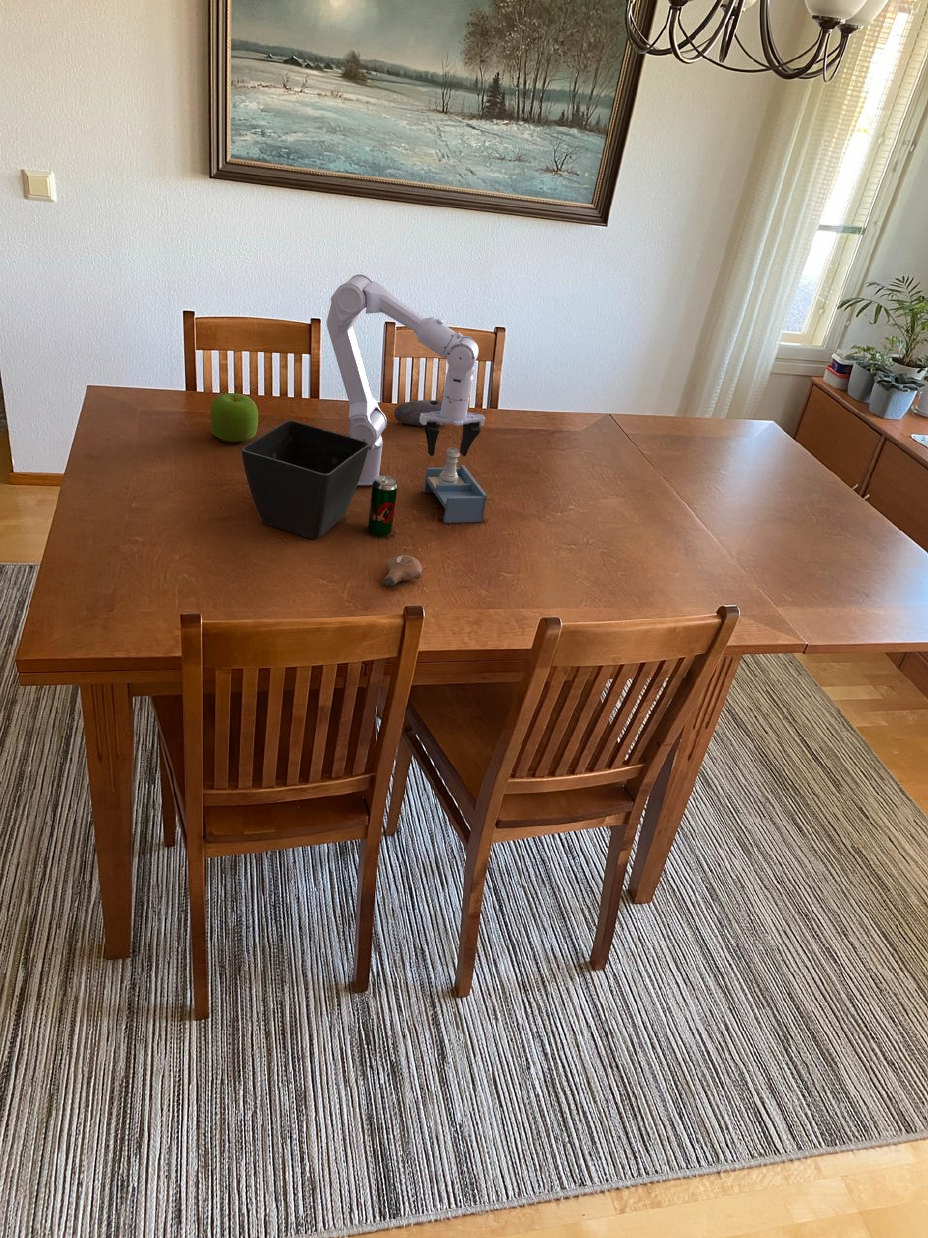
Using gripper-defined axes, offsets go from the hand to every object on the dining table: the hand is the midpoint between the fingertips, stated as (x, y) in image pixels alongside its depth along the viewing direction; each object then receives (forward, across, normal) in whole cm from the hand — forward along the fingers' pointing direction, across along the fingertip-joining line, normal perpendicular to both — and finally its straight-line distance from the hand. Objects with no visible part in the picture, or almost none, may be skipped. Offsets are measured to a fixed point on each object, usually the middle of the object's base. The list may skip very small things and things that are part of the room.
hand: (446, 454), depth 199 cm
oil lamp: (+10, -20, -34) cm, 41 cm away
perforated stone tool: (+11, +8, +40) cm, 42 cm away
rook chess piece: (+6, +1, -2) cm, 7 cm away
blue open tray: (+10, +1, -5) cm, 12 cm away
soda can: (+11, -19, -16) cm, 27 cm away
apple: (+11, -42, +31) cm, 53 cm away
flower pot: (+11, -34, -10) cm, 37 cm away
